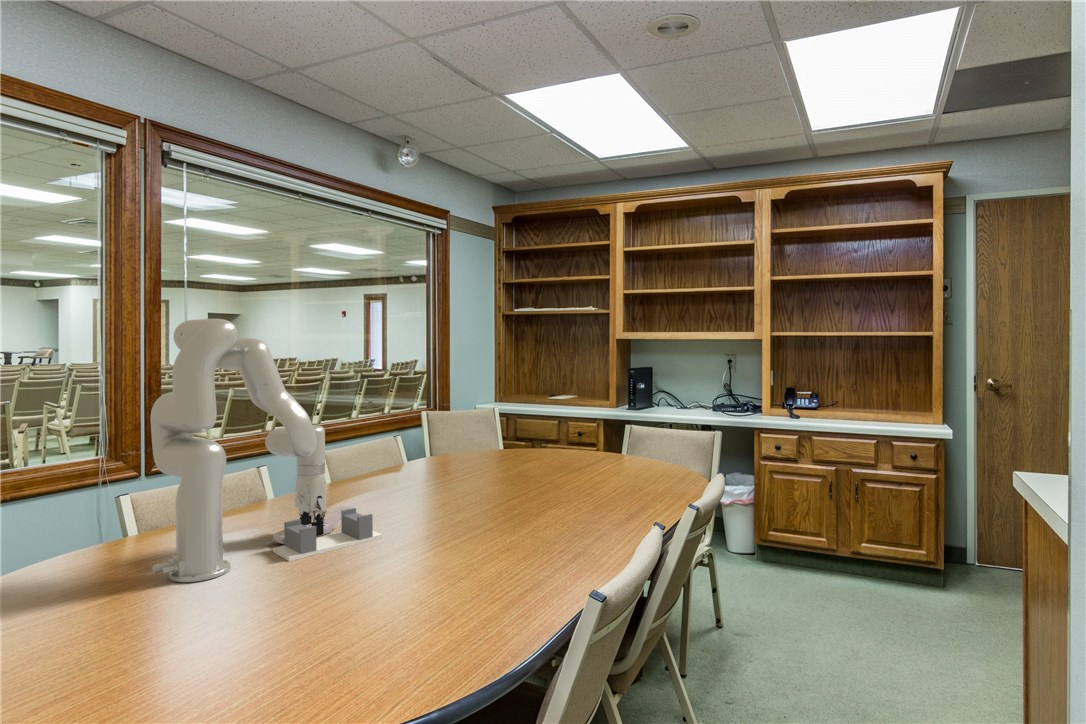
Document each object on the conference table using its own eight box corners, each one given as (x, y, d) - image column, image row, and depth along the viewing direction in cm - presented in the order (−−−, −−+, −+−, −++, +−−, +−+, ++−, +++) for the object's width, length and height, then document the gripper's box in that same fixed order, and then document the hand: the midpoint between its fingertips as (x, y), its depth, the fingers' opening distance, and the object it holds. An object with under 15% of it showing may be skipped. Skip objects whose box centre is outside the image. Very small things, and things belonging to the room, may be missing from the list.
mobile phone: (354, 506, 180) (277, 526, 159) (355, 526, 180) (277, 549, 159) (341, 504, 183) (264, 523, 162) (341, 523, 183) (264, 545, 162)
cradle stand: (289, 561, 150) (289, 532, 150) (273, 551, 157) (272, 524, 157) (382, 538, 169) (382, 512, 169) (364, 530, 176) (363, 505, 176)
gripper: (284, 467, 174) (285, 529, 174) (311, 476, 162) (312, 542, 162) (310, 463, 179) (310, 523, 180) (338, 472, 167) (338, 536, 168)
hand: (311, 532), depth 171 cm, fingers closed on mobile phone, 6 cm apart
